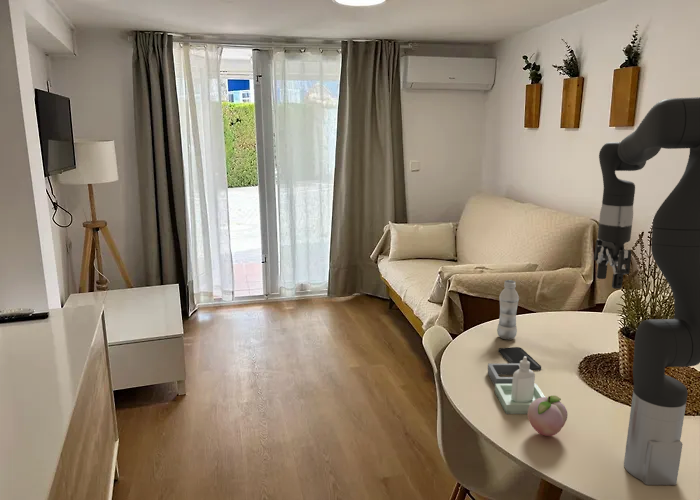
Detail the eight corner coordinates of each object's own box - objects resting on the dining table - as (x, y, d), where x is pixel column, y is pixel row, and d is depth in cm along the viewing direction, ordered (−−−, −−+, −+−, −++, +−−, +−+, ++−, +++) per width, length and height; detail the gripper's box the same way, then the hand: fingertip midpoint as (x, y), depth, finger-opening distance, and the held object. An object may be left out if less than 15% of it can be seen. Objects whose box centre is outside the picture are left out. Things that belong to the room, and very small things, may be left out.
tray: (550, 413, 129) (550, 404, 129) (506, 413, 130) (506, 404, 129) (535, 391, 140) (536, 383, 139) (494, 392, 140) (495, 383, 140)
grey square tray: (530, 388, 142) (531, 378, 141) (495, 388, 142) (496, 378, 141) (519, 372, 151) (520, 363, 150) (487, 372, 151) (488, 363, 150)
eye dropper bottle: (534, 404, 132) (538, 361, 129) (511, 402, 133) (514, 359, 130) (532, 396, 136) (535, 354, 133) (510, 394, 137) (512, 352, 135)
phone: (520, 346, 167) (542, 367, 153) (519, 350, 167) (542, 371, 153) (496, 348, 166) (517, 369, 152) (496, 351, 166) (517, 372, 152)
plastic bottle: (496, 340, 174) (499, 283, 169) (496, 333, 180) (500, 278, 175) (516, 342, 172) (520, 285, 167) (516, 335, 178) (520, 279, 174)
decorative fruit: (534, 420, 127) (537, 382, 124) (569, 432, 122) (573, 393, 119) (519, 437, 120) (522, 398, 117) (555, 451, 115) (559, 410, 112)
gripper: (588, 217, 138) (582, 275, 142) (614, 227, 124) (607, 291, 128) (616, 217, 138) (610, 275, 142) (645, 227, 124) (637, 291, 128)
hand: (608, 283), depth 135 cm, fingers open, 8 cm apart
